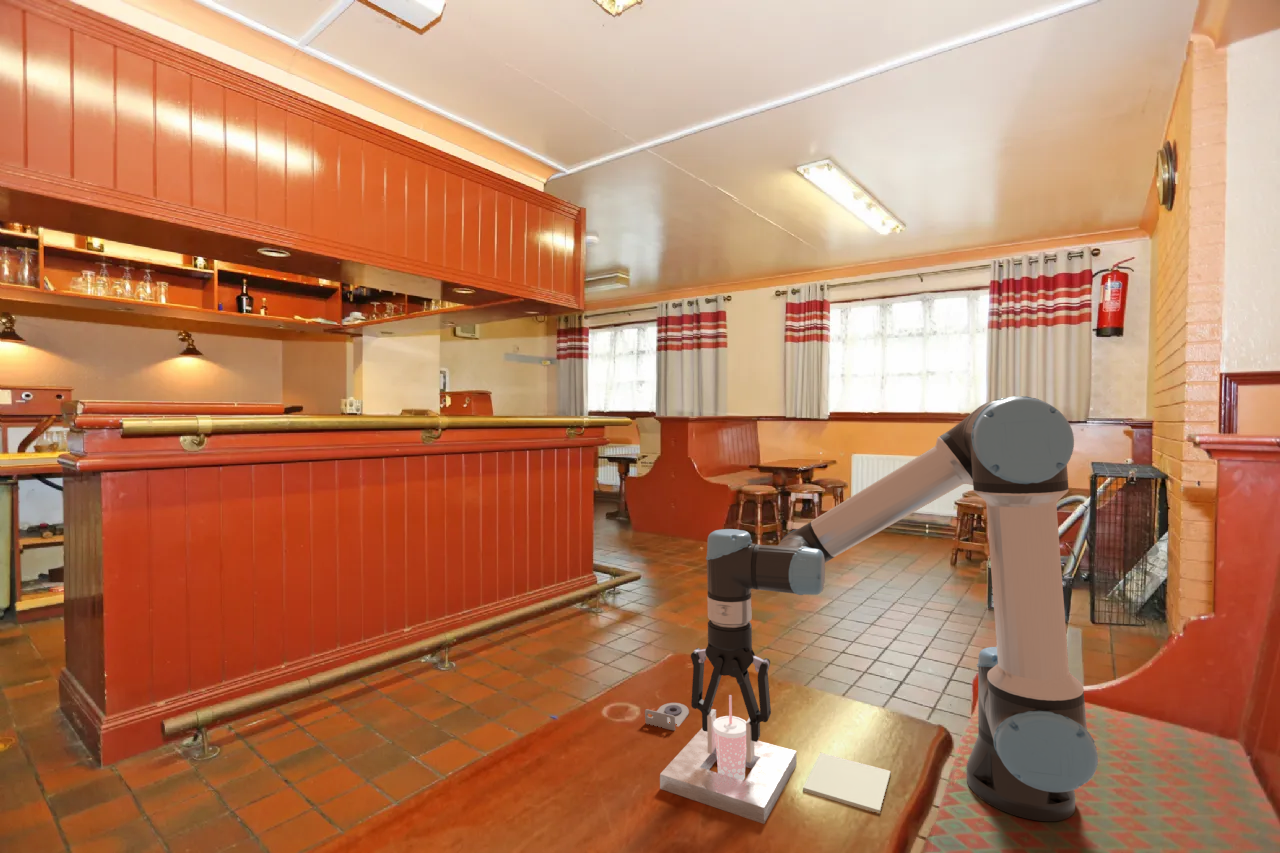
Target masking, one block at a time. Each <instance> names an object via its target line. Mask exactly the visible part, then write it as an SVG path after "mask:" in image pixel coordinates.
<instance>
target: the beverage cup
mask: <svg viewBox="0 0 1280 853" xmlns="http://www.w3.org/2000/svg"><path fill="white" fill-rule="evenodd" d="M746 722H747V721H746V720H745V719H743V718H741V717H739V716H735V715H733V696H732V694H728V715H725V716H719V717H716V719H715V721H714V722H713V730H714V731H715V739H716V752H717V760H716V763H717V773H720V774H723V775H726V776H730V777H733V778H736V779H739V780H743V781H745V779H746V767H745V763H746Z"/></svg>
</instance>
